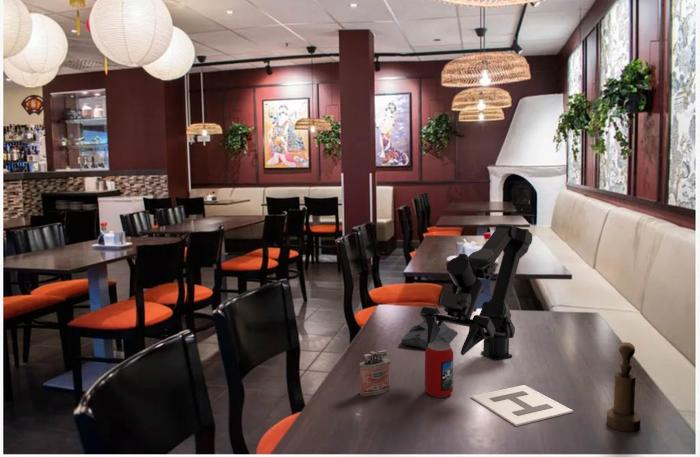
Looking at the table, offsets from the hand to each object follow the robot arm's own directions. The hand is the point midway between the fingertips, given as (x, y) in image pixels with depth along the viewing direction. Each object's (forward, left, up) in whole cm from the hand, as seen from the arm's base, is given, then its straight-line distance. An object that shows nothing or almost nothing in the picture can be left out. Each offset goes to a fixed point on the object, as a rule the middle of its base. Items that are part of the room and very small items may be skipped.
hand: (444, 350), depth 140 cm
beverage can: (+2, +1, -10) cm, 11 cm away
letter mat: (-11, +15, -10) cm, 21 cm away
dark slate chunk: (-17, -36, -11) cm, 41 cm away
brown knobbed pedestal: (-24, +32, -10) cm, 41 cm away
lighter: (+16, -6, -10) cm, 20 cm away
